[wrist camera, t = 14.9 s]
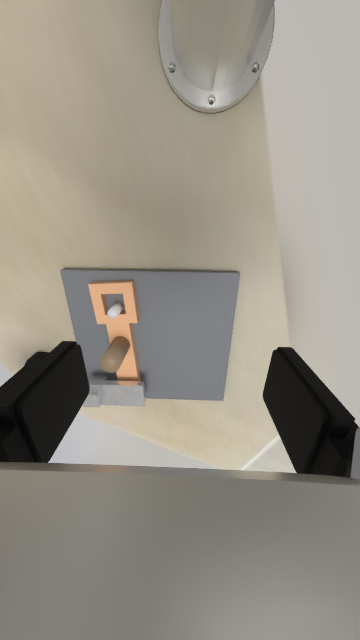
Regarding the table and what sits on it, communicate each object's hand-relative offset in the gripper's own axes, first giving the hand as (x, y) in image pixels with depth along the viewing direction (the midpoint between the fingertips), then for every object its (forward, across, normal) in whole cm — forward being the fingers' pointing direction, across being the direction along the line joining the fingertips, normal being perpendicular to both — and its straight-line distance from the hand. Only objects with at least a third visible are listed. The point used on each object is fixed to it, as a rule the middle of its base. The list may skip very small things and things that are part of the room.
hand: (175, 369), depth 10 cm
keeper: (+26, +12, +23) cm, 37 cm away
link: (+25, +11, +12) cm, 30 cm away
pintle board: (+26, +5, +14) cm, 30 cm away
